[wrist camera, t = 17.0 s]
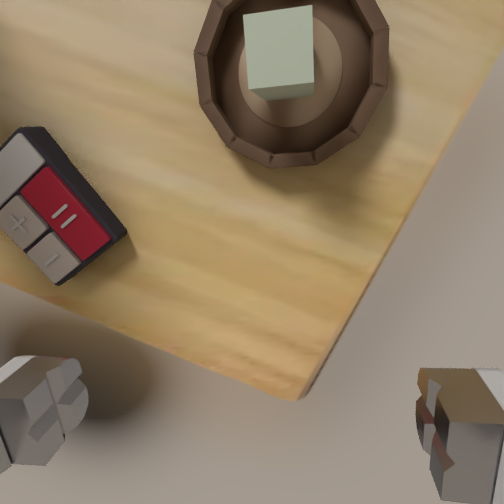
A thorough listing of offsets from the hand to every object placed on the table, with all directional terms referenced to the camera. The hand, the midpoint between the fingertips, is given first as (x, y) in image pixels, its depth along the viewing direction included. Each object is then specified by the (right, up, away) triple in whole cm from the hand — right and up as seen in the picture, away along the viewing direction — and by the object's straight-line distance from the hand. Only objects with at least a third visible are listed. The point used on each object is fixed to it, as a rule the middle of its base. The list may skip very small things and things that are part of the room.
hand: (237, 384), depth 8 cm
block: (+4, +20, +25) cm, 32 cm away
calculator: (-23, +9, +35) cm, 42 cm away
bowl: (+4, +20, +26) cm, 33 cm away
